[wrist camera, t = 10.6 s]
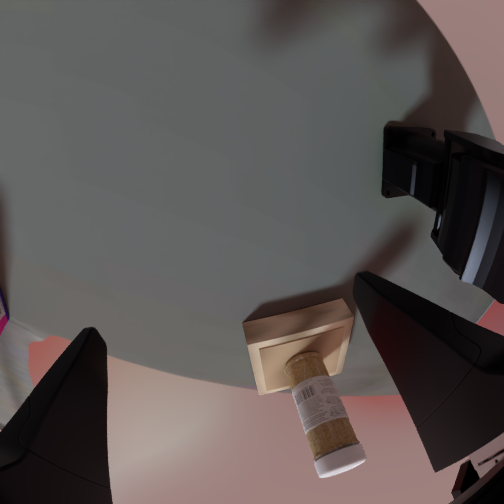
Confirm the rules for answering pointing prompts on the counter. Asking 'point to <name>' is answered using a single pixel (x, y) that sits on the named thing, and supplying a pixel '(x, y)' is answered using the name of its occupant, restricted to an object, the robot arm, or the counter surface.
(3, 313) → the supplement box
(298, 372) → the sprinkles bottle
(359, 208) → the counter surface
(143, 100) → the counter surface
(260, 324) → the beech tray
